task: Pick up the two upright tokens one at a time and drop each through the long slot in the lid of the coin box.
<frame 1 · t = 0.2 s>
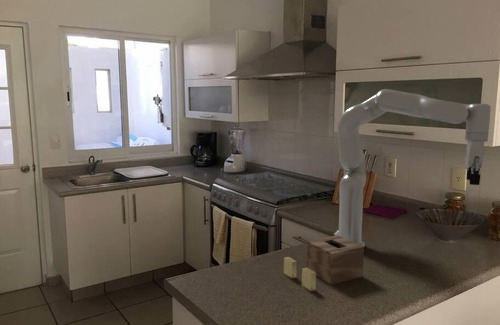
hand: (472, 182, 158), 31 cm above the worktop, fingers open, 9 cm apart
coin box: (334, 273, 150), on the worktop
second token: (308, 287, 139), on the worktop
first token: (290, 275, 148), on the worktop
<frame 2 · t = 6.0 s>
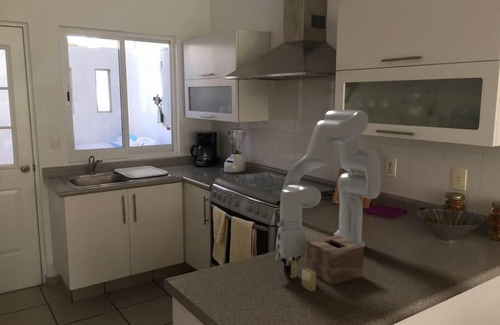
hand: (290, 273, 148), 1 cm above the worktop, fingers closed on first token, 1 cm apart
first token: (290, 275, 148), on the worktop, touching gripper
everything else where it was.
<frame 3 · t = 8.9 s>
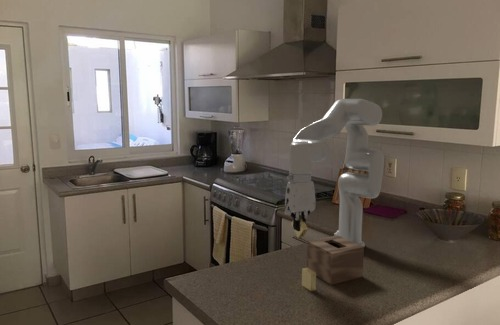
hand: (299, 229, 146), 17 cm above the worktop, fingers closed on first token, 1 cm apart
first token: (303, 233, 144), point 16 cm above the worktop, tilted 49°, touching gripper
everything else where it was.
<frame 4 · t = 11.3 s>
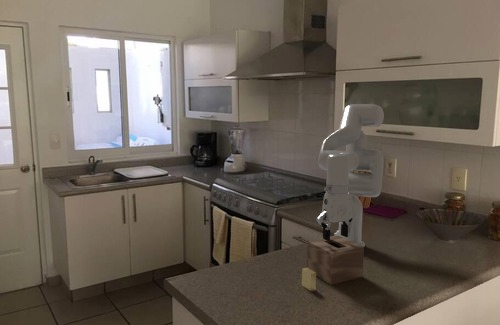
hand: (335, 237, 148), 13 cm above the worktop, fingers open, 7 cm apart
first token: (338, 269, 148), point 2 cm above the worktop, tilted 90°
everything else where it was.
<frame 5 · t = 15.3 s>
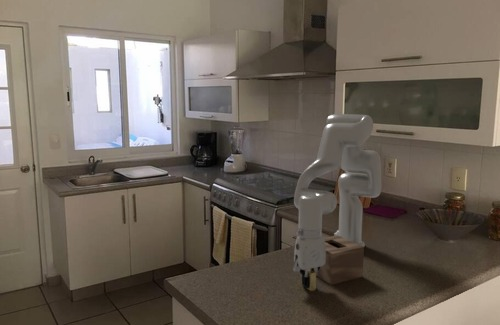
hand: (308, 285, 139), 1 cm above the worktop, fingers closed on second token, 1 cm apart
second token: (308, 287, 139), on the worktop, touching gripper
everything else where it was.
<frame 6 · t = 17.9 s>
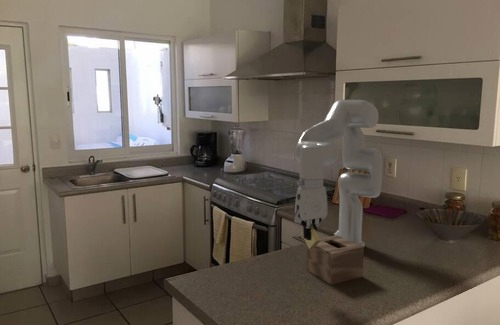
hand: (309, 238, 136), 17 cm above the worktop, fingers closed on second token, 1 cm apart
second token: (314, 244, 134), point 16 cm above the worktop, tilted 48°, touching gripper
everything else where it was.
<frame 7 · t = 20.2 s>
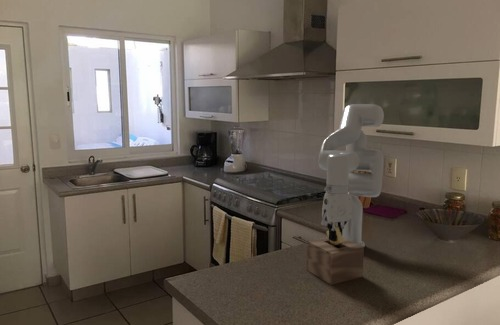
hand: (335, 239, 148), 13 cm above the worktop, fingers closed on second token
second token: (338, 244, 147), point 11 cm above the worktop, tilted 35°, touching gripper
everything else where it was.
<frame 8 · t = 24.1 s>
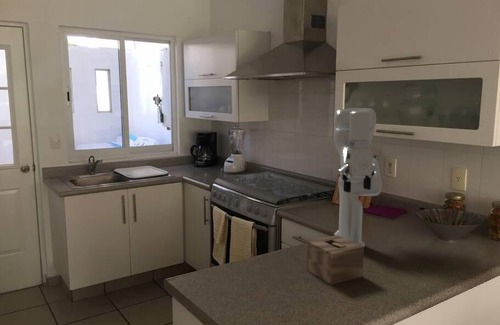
hand: (357, 190, 155), 28 cm above the worktop, fingers open, 9 cm apart
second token: (338, 261, 148), point 5 cm above the worktop, tilted 6°, touching coin box, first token
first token: (338, 268, 148), point 3 cm above the worktop, tilted 91°, touching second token
at the end: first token inside the target area on the coin box (2.3 cm from its centre), point 2.5 cm above the coin box's base; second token inside the target area on the coin box (2.0 cm from its centre), point 5.3 cm above the coin box's base; the gripper is holding nothing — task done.
